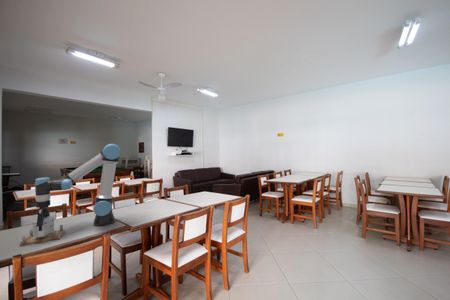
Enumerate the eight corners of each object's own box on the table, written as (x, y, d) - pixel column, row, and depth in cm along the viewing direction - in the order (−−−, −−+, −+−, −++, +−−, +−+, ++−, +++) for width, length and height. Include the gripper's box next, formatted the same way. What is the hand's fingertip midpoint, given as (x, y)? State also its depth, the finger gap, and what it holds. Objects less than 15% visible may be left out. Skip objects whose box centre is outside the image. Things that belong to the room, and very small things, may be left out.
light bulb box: (43, 231, 145) (43, 216, 145) (54, 230, 146) (54, 215, 146) (32, 238, 134) (32, 221, 134) (44, 237, 136) (43, 220, 136)
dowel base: (64, 231, 152) (64, 224, 152) (59, 239, 138) (59, 231, 138) (28, 237, 142) (28, 229, 142) (19, 246, 129) (19, 237, 129)
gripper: (41, 197, 149) (42, 227, 149) (29, 205, 128) (30, 240, 128) (54, 196, 152) (55, 225, 153) (44, 203, 131) (45, 237, 131)
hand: (44, 232), depth 140 cm, fingers closed on light bulb box, 12 cm apart
